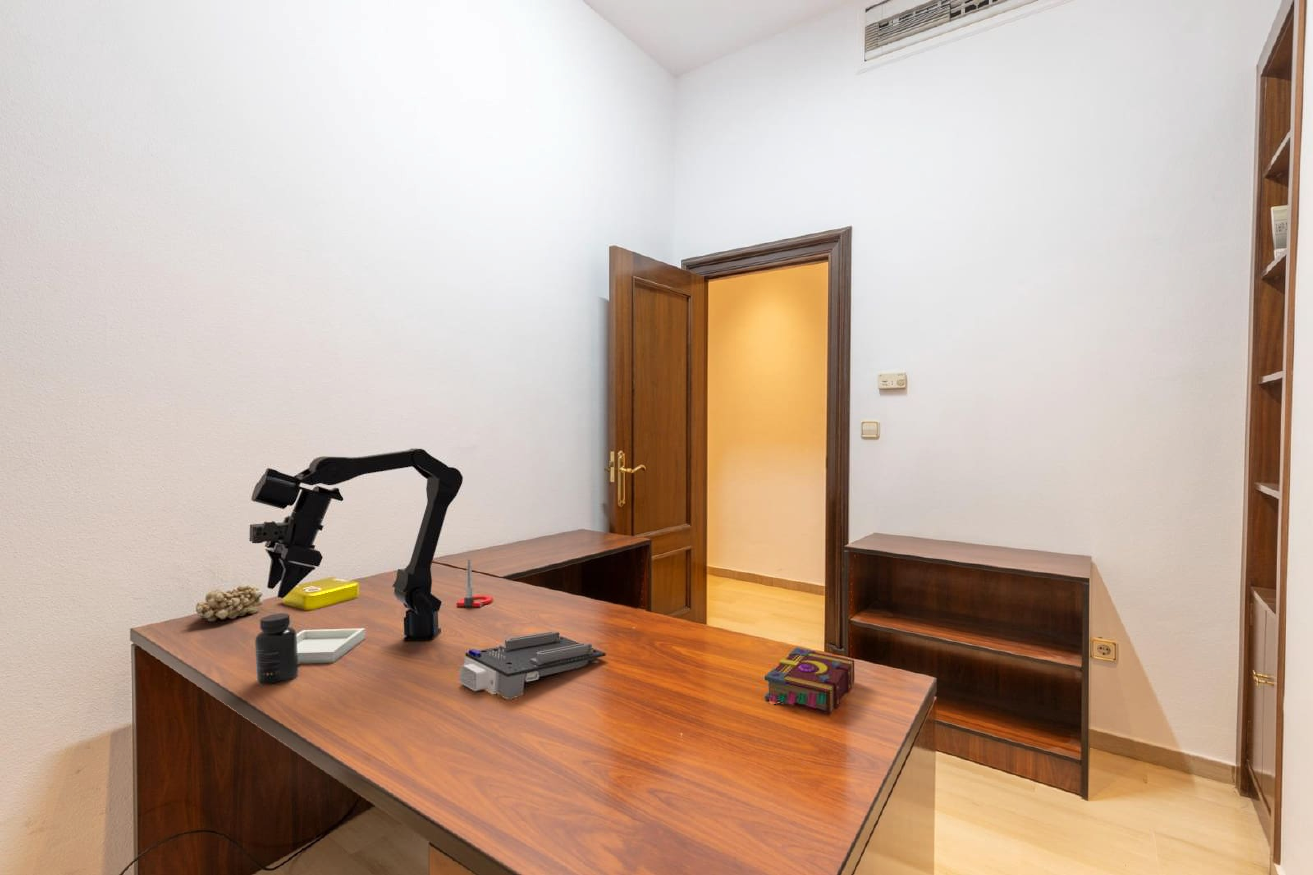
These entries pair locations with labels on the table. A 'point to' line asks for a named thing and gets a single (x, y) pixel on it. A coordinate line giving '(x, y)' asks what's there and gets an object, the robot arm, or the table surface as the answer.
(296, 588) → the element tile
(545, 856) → the table surface
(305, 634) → the ceramic tray
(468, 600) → the tow hook
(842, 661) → the decorative book
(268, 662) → the supplement bottle
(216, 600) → the mineral formation
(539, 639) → the circuit board
